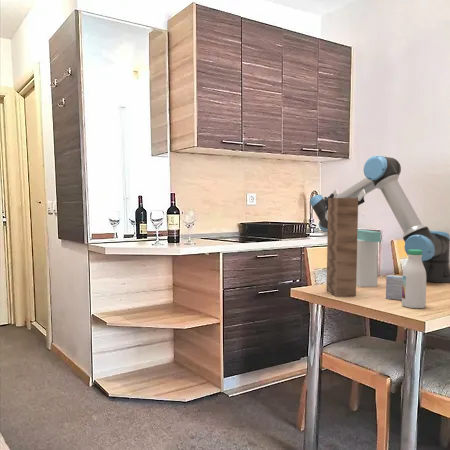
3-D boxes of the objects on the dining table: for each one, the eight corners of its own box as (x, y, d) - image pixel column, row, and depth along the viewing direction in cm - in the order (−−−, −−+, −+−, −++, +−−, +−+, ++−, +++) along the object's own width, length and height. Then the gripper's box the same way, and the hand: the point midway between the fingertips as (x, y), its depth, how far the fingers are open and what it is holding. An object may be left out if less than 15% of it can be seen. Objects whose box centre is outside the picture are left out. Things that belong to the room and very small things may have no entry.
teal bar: (348, 237, 202) (349, 229, 202) (357, 237, 203) (357, 229, 202) (371, 241, 180) (372, 232, 180) (380, 241, 181) (381, 232, 181)
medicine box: (409, 299, 164) (410, 276, 163) (407, 301, 160) (408, 278, 159) (388, 296, 168) (388, 274, 167) (385, 298, 164) (386, 276, 164)
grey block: (349, 282, 197) (350, 238, 196) (366, 282, 198) (367, 238, 197) (359, 286, 187) (360, 240, 186) (377, 286, 188) (378, 240, 187)
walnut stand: (326, 291, 177) (328, 198, 175) (345, 291, 178) (347, 198, 176) (336, 296, 167) (338, 197, 165) (355, 296, 168) (358, 198, 166)
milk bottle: (429, 306, 152) (431, 250, 151) (418, 310, 147) (420, 251, 146) (408, 302, 158) (410, 248, 157) (397, 305, 153) (398, 249, 152)
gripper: (359, 219, 224) (377, 198, 205) (312, 219, 220) (326, 198, 201) (356, 206, 227) (373, 184, 208) (310, 206, 223) (324, 184, 204)
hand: (350, 191), depth 205 cm, fingers open, 13 cm apart
